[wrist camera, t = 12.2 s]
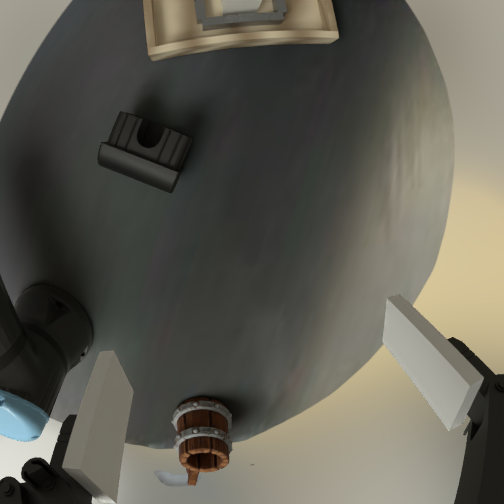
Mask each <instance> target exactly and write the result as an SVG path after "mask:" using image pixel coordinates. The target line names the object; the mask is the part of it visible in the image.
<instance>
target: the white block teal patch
mask: <svg viewBox="0 0 504 504" xmlns="http://www.w3.org/2000/svg"><path fill="white" fill-rule="evenodd" d="M220 1H221V7H222V14H223V16H225V15H236V14H248V13H257V10H258V8H259V6H260V4H261V2H262V0H220Z"/></svg>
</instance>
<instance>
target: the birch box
mask: <svg viewBox="0 0 504 504" xmlns="http://www.w3.org/2000/svg"><path fill="white" fill-rule="evenodd" d="M285 3H286V8H287V13H286V14H285V16H284V21H283V22H282V23H281V24H280V25H258V26H244V27H233V28H224V29H216V30H208V31H203V30H202V24H197V21H196V13H195V6H194V0H143V6H144V18H145V28H146V38H147V47H148V56H149V57H150V58H151V60H152V61H158V60H163V59H167V58H172V57H177V56H183V55H188V54H194V53H200V52H207V51H214V50H221V49H230V48H239V47H249V46H262V45H280V44H330V43H332V42H334V41H335V40H337V39H338V38H339V34H338V29H337V24H336V19H335V14H334V10H333V5H332V1H331V0H285ZM204 4H205V11H206V18H209V17H217V16H223V14H222V7H221V1H220V0H204ZM268 12H274V10H273V5H272V0H262V2H261V4H260V6H259V8H258V10H257V13H268ZM248 14H249V13H248ZM225 16H226V15H225Z"/></svg>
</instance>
